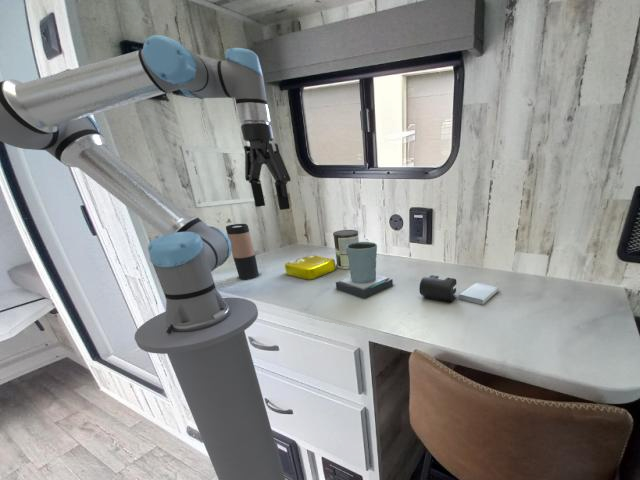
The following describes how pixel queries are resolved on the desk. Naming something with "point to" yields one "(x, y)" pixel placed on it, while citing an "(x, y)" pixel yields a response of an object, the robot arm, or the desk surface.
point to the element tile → (310, 267)
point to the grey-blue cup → (362, 261)
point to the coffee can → (344, 246)
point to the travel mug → (242, 251)
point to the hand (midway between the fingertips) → (272, 207)
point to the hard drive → (478, 293)
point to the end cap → (438, 288)
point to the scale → (364, 286)
